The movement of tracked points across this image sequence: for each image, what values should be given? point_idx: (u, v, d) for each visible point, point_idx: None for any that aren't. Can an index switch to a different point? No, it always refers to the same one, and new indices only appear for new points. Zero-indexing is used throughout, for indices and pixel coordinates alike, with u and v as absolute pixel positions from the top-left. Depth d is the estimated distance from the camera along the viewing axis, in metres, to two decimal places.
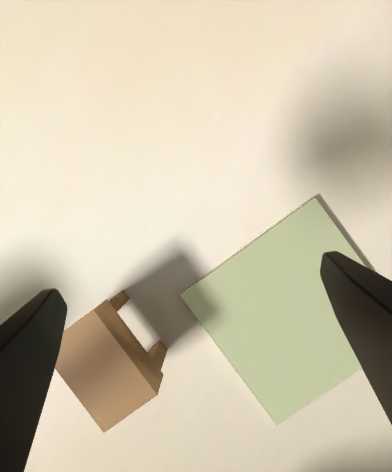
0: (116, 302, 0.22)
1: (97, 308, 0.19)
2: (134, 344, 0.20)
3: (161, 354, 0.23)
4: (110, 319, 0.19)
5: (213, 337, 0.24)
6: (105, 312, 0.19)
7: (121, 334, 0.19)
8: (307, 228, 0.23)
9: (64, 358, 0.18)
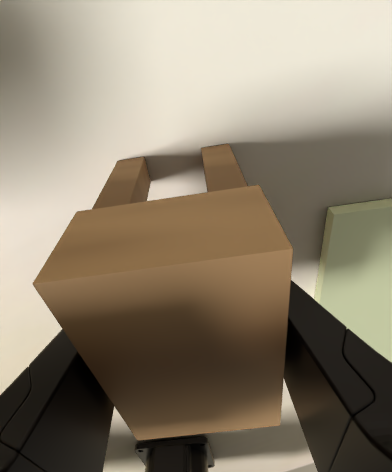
0: None
1: (283, 234, 0.05)
2: None
3: None
4: None
5: (325, 292, 0.14)
6: None
7: None
8: None
9: (111, 329, 0.06)
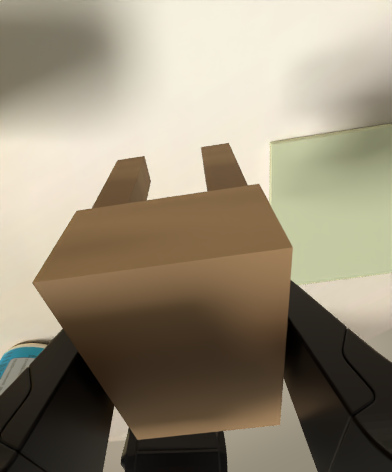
0: None
1: (283, 233, 0.05)
2: None
3: None
4: None
5: (273, 203, 0.22)
6: None
7: None
8: None
9: (111, 328, 0.06)
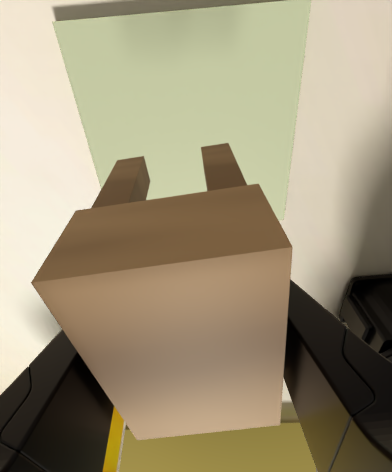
0: None
1: (282, 233, 0.05)
2: None
3: None
4: None
5: None
6: None
7: None
8: (93, 61, 0.16)
9: (110, 328, 0.06)
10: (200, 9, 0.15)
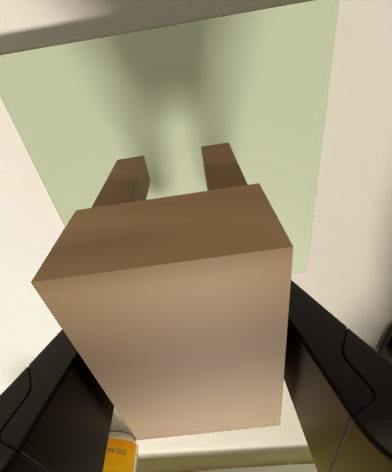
0: None
1: (283, 232, 0.05)
2: None
3: None
4: None
5: None
6: None
7: None
8: (45, 105, 0.12)
9: (110, 328, 0.06)
10: (182, 25, 0.11)
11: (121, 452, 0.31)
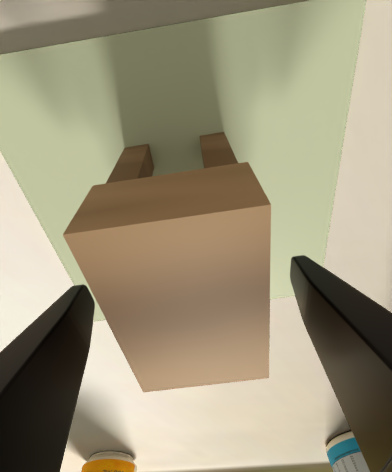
0: None
1: None
2: None
3: None
4: None
5: None
6: None
7: None
8: (27, 116, 0.11)
9: (124, 277, 0.07)
10: (183, 24, 0.09)
11: None
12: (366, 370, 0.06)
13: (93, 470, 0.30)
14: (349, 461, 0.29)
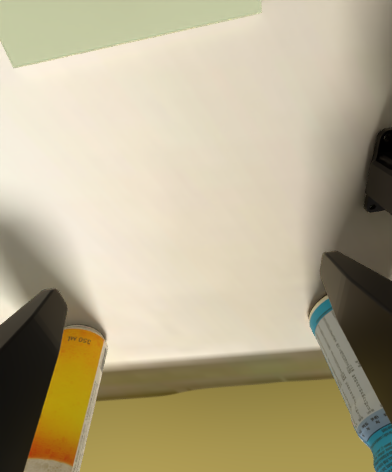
0: None
1: None
2: None
3: None
4: None
5: (90, 46, 0.15)
6: None
7: None
8: None
9: None
10: None
11: (85, 341, 0.28)
12: None
13: None
14: (330, 316, 0.27)
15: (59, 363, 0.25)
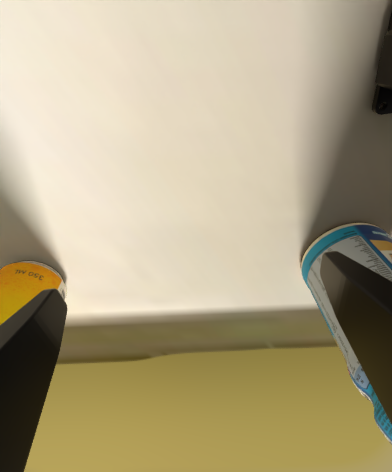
0: None
1: None
2: None
3: None
4: None
5: None
6: None
7: None
8: None
9: None
10: None
11: (36, 275, 0.23)
12: None
13: (4, 271, 0.23)
14: None
15: None
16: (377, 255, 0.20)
